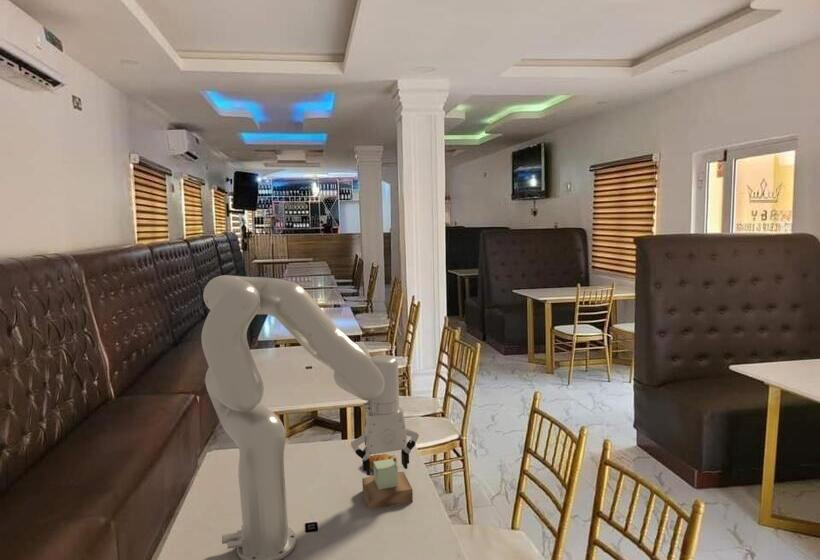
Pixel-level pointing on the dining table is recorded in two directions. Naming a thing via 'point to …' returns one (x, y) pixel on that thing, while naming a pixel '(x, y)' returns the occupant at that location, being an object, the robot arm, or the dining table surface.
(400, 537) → the dining table surface
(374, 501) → the walnut block
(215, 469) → the dining table surface
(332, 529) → the dining table surface
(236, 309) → the robot arm
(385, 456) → the pastry
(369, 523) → the dining table surface
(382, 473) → the green cube
